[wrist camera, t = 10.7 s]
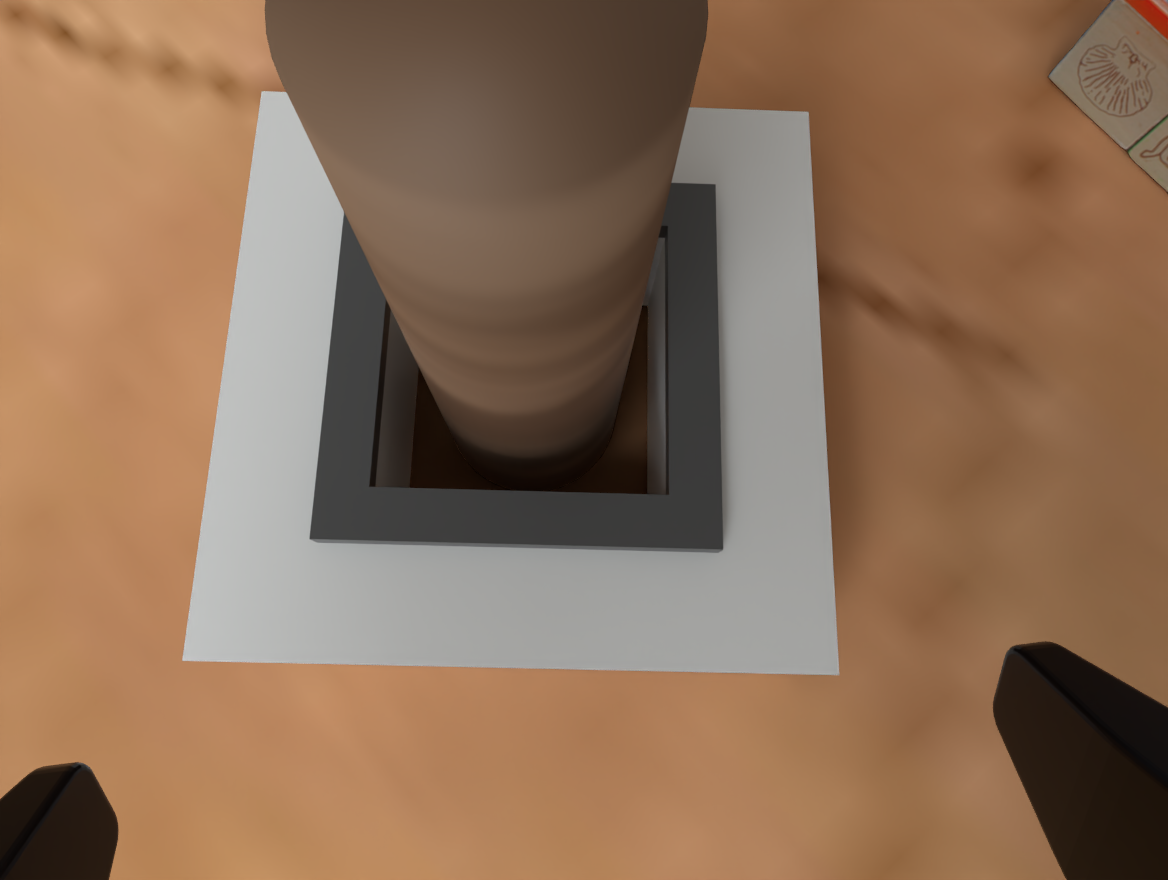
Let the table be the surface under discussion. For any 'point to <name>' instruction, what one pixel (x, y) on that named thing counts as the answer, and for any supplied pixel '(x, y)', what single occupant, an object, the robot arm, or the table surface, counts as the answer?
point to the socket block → (526, 518)
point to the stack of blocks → (1124, 79)
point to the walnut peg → (502, 195)
